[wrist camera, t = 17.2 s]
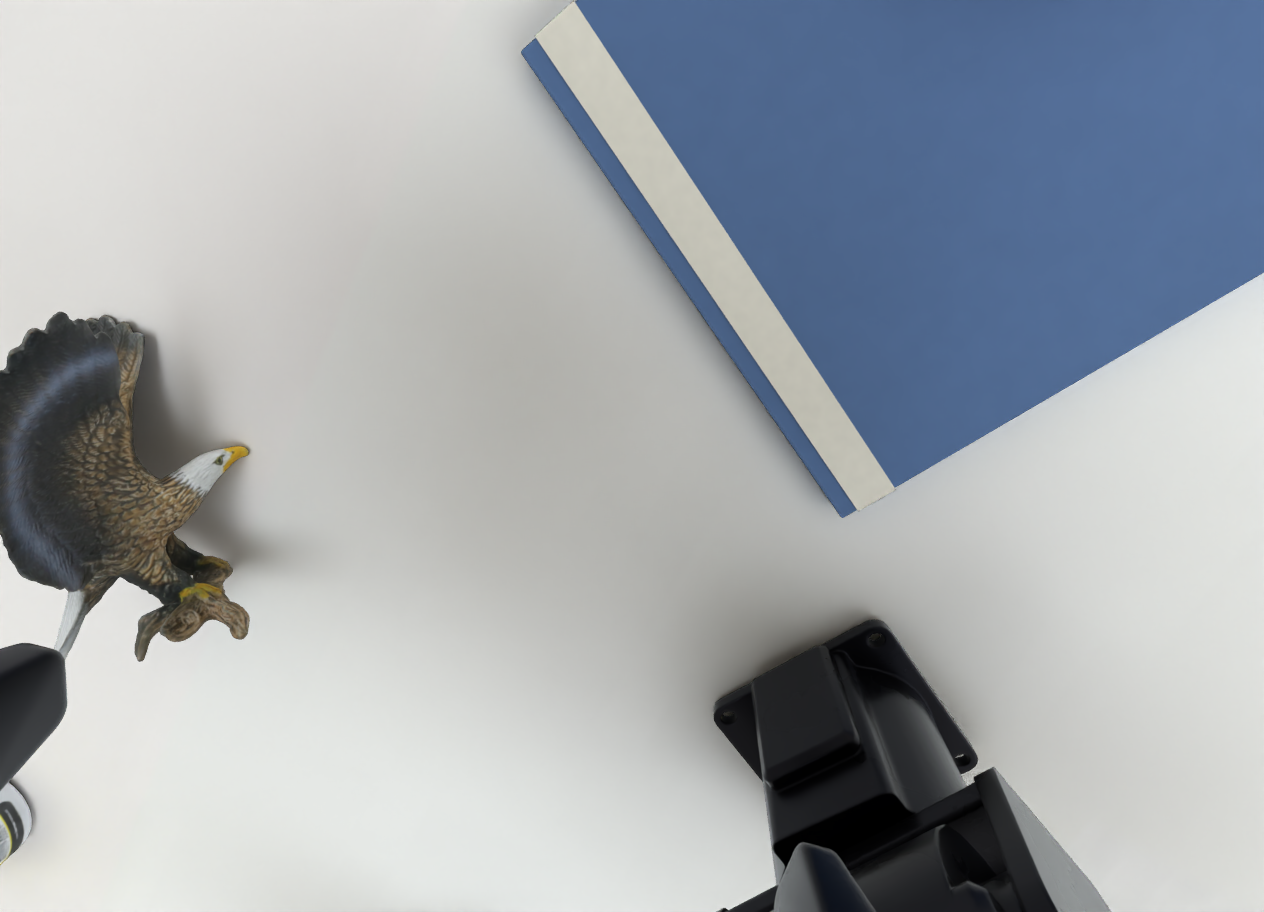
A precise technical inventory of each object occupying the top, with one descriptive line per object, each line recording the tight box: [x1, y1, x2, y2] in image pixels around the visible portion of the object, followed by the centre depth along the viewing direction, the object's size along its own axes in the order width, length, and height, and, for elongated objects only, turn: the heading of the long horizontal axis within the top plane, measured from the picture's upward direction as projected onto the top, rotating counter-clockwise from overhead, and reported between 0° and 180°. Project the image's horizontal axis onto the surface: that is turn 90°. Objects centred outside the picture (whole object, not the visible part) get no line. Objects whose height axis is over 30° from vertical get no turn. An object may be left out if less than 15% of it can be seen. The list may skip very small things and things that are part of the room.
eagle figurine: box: [0, 312, 250, 662], centre depth 19 cm, size 8×7×9 cm
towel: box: [521, 0, 1264, 518], centre depth 16 cm, size 15×17×1 cm
